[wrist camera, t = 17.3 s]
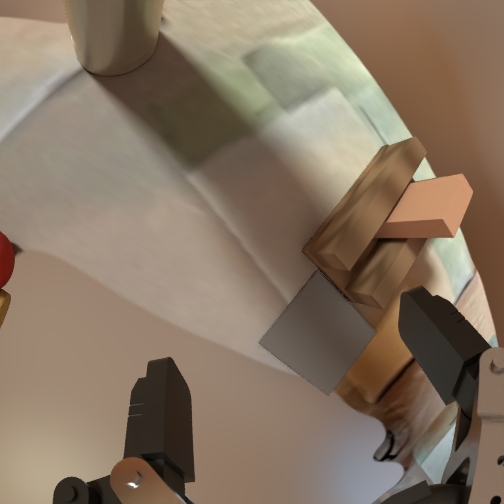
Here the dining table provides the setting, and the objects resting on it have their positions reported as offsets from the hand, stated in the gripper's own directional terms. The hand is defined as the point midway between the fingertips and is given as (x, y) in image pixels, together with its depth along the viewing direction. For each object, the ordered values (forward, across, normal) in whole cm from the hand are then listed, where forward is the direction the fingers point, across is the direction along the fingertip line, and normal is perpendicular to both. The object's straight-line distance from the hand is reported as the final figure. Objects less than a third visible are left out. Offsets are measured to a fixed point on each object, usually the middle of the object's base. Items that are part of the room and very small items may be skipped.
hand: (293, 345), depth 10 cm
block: (+24, -16, +9) cm, 30 cm away
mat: (+18, -5, +19) cm, 27 cm away
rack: (+25, -15, +10) cm, 31 cm away
